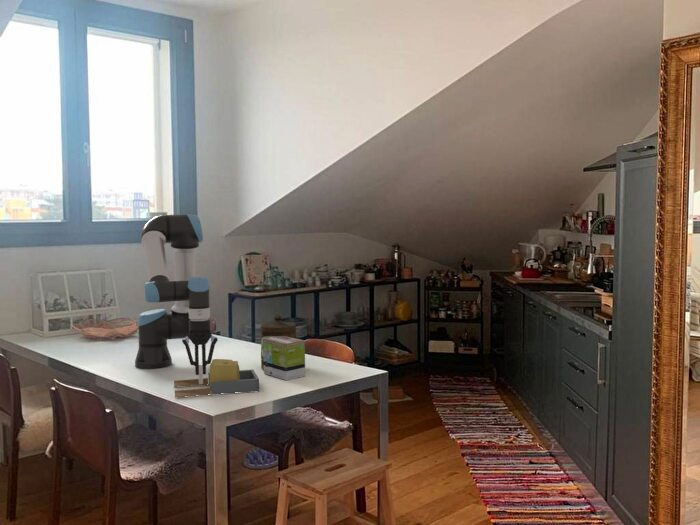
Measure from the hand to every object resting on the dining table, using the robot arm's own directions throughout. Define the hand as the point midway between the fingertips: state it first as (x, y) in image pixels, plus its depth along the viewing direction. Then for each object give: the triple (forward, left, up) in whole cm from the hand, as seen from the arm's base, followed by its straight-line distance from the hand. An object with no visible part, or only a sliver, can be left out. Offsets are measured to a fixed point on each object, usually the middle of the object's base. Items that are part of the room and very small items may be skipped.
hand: (200, 383), depth 259 cm
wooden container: (-28, +33, -3) cm, 43 cm away
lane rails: (0, -3, -3) cm, 4 cm away
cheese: (-1, +9, -3) cm, 9 cm away
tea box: (-14, +33, -3) cm, 36 cm away
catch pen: (0, +12, -3) cm, 12 cm away
